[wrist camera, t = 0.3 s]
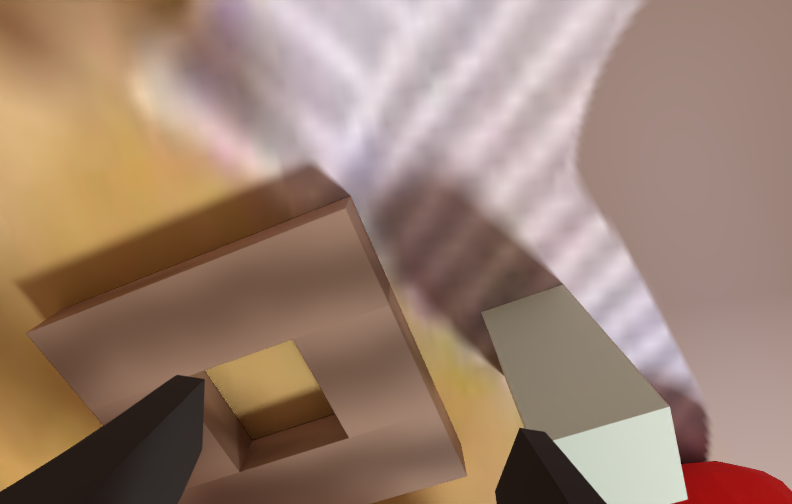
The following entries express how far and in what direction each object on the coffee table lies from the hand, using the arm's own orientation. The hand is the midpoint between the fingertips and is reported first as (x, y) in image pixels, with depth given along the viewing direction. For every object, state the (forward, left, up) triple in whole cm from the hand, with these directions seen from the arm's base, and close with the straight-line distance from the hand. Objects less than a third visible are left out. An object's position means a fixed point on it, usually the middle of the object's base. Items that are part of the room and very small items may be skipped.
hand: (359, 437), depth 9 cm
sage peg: (-6, -6, -10) cm, 13 cm away
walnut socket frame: (-4, +7, -10) cm, 13 cm away
